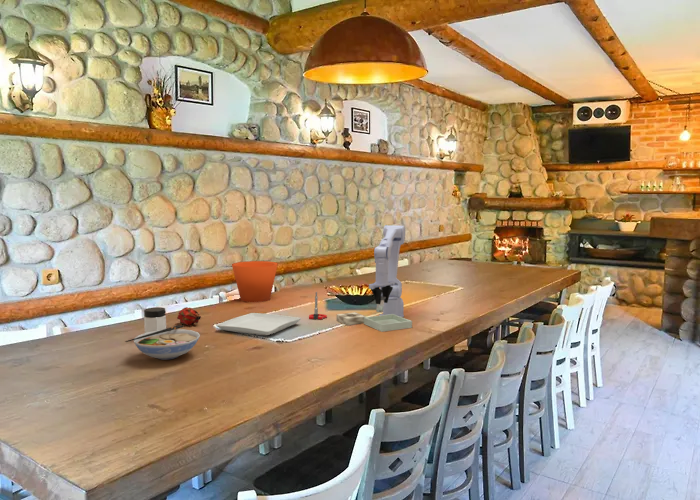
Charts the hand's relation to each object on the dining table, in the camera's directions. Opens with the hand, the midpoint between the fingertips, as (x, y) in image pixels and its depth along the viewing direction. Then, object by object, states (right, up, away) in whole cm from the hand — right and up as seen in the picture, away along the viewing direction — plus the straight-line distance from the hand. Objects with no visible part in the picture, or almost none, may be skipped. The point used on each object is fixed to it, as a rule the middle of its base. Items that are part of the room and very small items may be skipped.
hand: (381, 303), depth 243 cm
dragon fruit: (-86, -10, 0) cm, 87 cm away
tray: (+3, -10, 0) cm, 10 cm away
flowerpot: (-67, -4, +58) cm, 89 cm away
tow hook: (-30, -9, +16) cm, 35 cm away
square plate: (-54, -11, -5) cm, 55 cm away
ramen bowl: (-80, -15, -47) cm, 94 cm away
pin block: (-14, -9, +7) cm, 18 cm away
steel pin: (-1, -4, +1) cm, 4 cm away
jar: (-93, -12, -22) cm, 96 cm away
